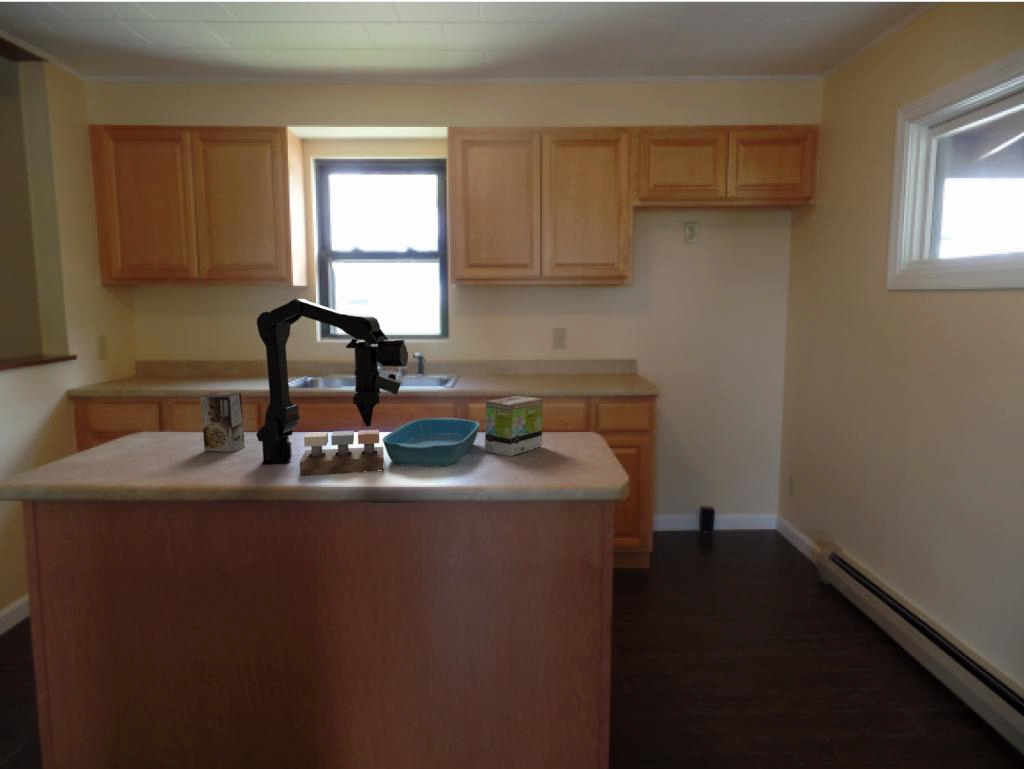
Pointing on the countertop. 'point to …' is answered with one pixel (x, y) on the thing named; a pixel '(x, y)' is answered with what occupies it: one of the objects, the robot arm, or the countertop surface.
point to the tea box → (513, 425)
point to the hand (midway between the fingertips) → (368, 426)
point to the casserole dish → (431, 441)
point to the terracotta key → (368, 440)
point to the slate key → (342, 441)
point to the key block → (341, 462)
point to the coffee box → (222, 422)
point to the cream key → (316, 442)
